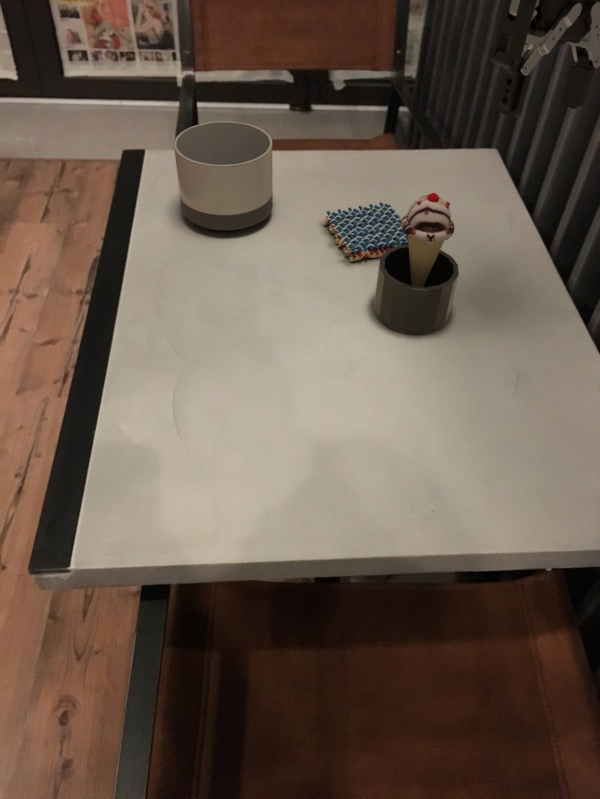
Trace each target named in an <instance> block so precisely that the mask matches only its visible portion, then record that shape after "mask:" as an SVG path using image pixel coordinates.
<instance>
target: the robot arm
mask: <svg viewBox="0 0 600 799" xmlns="http://www.w3.org/2000/svg"><path fill="white" fill-rule="evenodd" d="M535 33H537V35H534V34H535ZM510 37H511V43H510V46H509V49H508V50H507V47H508V44H509V41H510ZM566 43H568V44H569V45H570V46H571V51H572V56H573V59H574V62H575V63H571V64H570V67H569V72H568V74H567V78H566V80H565V85H564V89H563V92H562V95H561V100H560V102H561V105H562V106H564V107H566V108H569V109H572V110H578V109H579V110H580V109H581V108H582V107H583V106H584V103H585V100H586V99H587V97H588V94H589V90H590V88H591V84H592V81H593V77H594V75H595V71H596V69H598V68H600V0H504V4H503V8H502V11H501V15H500V19H499V23H498V27H497V30H496V34H495V38H494V42H493V47H492V50H491V55H490V61H491V63H494V64H497V65H499V66H500V67H503V69H504V77H503V81H502V85H501V86H502V87H501V91H500V95H499V99H498V108H499V112H500V113H501V114H502V115H504V116H506V117H509V118H512V119H513V118H518V117H520V116H521V115H522V112H523V108H524V104H525V100H526V97H527V92H528V88H529V85H530V82H531V75H530V74H531V72H532V71H533V69H534V68H535V67H536V65H537V64H538V63H539V61H540V60H541V58H542V57H544V56H547V55H548V54H549V53H551V51H552V50H553V49H554V47H556V46H559V45H564V44H566ZM527 51H528V52H527ZM526 52H527V54H526V55H525V53H526ZM524 55H525V57H524Z"/></svg>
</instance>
